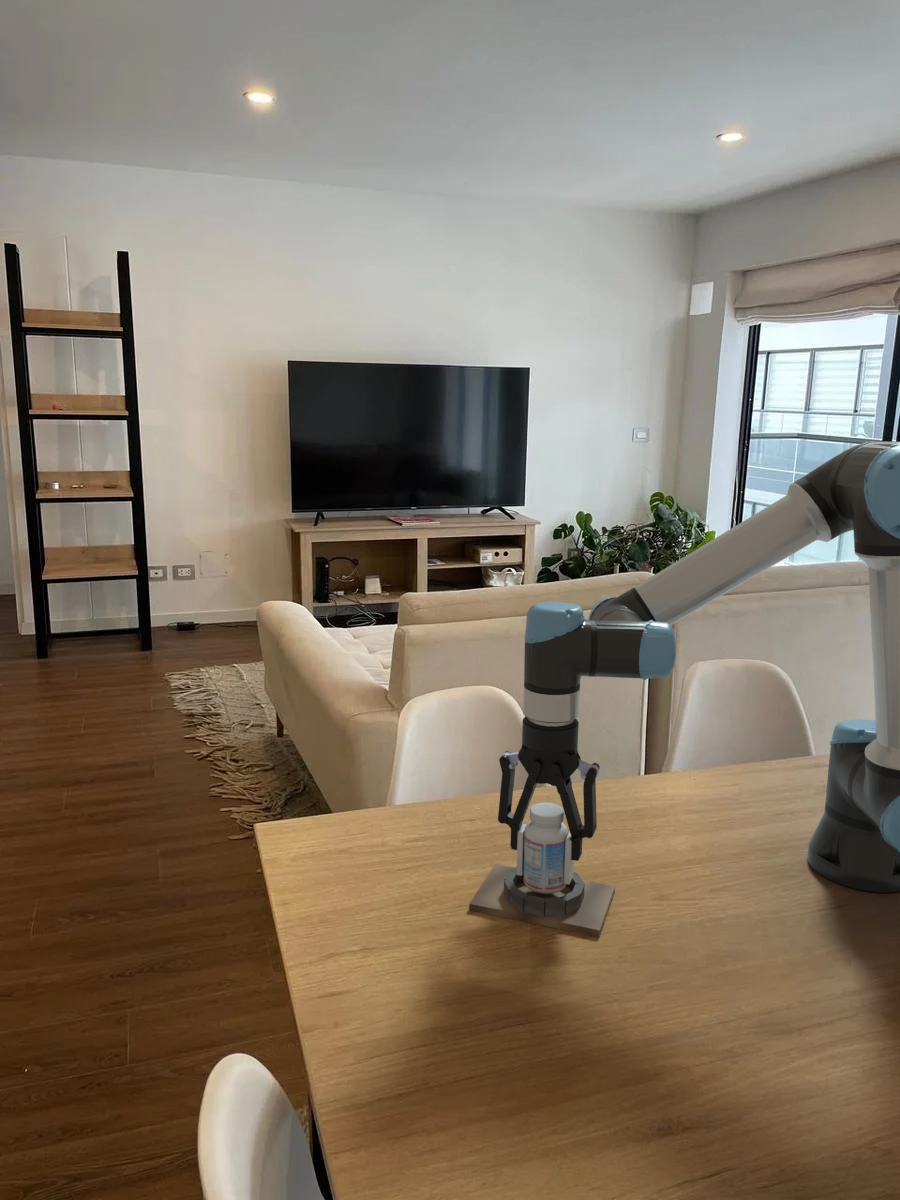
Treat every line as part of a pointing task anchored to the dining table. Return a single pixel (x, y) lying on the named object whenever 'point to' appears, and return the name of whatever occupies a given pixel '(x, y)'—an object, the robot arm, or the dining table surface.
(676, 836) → the dining table surface
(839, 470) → the robot arm
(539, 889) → the pill bottle
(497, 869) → the holder
